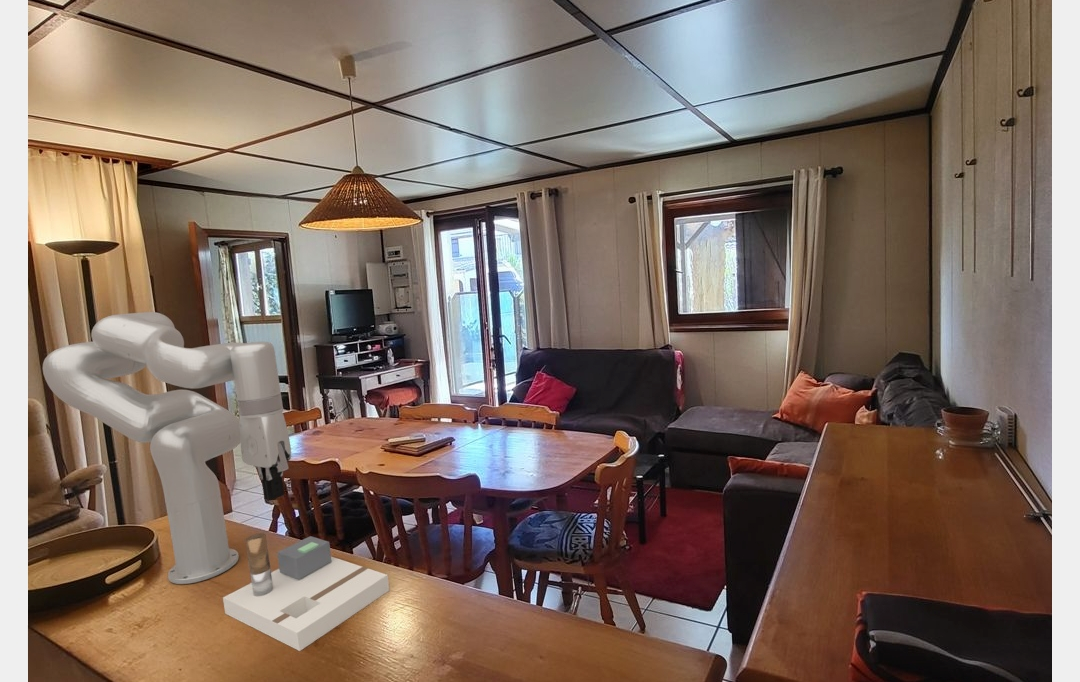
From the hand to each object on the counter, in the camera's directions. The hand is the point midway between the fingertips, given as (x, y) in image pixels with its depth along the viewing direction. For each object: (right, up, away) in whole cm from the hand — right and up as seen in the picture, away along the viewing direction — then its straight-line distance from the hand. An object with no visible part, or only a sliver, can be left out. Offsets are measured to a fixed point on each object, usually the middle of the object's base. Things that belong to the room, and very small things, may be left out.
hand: (274, 497), depth 106 cm
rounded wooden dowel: (+3, -14, -10) cm, 17 cm away
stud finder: (+8, -13, -3) cm, 15 cm away
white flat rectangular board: (+11, -16, -9) cm, 21 cm away
